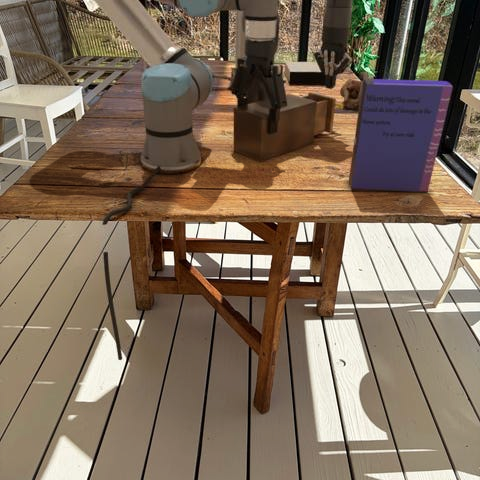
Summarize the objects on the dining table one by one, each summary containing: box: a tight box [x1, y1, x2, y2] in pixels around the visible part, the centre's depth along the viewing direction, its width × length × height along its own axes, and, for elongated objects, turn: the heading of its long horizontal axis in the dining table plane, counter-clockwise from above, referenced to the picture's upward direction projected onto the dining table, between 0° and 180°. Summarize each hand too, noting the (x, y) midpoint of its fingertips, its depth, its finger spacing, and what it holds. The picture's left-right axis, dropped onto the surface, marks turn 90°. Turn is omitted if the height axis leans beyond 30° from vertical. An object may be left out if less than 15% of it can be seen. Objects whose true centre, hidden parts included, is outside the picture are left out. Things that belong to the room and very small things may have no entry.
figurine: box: [211, 66, 287, 89], centre depth 190 cm, size 24×8×30 cm
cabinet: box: [233, 93, 317, 162], centre depth 131 cm, size 22×11×12 cm, turn 133°
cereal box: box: [348, 78, 454, 193], centre depth 106 cm, size 17×5×24 cm, turn 86°
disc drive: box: [284, 61, 326, 85], centre depth 207 cm, size 18×22×5 cm
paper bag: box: [234, 10, 247, 68], centre depth 210 cm, size 19×15×28 cm
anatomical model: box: [339, 71, 369, 110], centre depth 171 cm, size 13×9×15 cm
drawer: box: [301, 91, 344, 136], centre depth 139 cm, size 26×9×10 cm, turn 133°
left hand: (257, 127), depth 127 cm, fingers closed on cabinet, 11 cm apart
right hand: (329, 88), depth 141 cm, fingers closed
